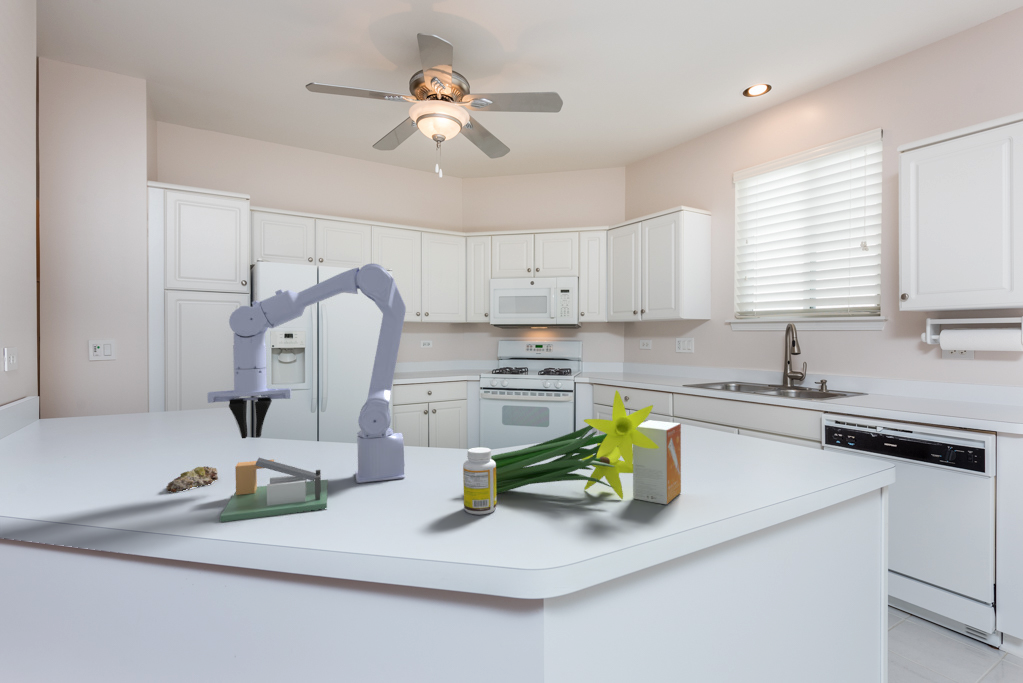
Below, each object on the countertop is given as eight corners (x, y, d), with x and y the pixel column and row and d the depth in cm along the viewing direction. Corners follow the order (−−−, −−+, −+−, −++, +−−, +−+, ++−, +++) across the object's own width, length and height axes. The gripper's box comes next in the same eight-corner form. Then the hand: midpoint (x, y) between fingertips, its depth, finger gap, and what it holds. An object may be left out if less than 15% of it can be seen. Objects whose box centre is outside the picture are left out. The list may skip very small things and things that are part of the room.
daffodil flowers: (492, 479, 104) (658, 438, 98) (490, 540, 92) (680, 498, 86) (462, 421, 96) (641, 373, 90) (454, 479, 83) (662, 428, 77)
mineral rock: (192, 466, 106) (224, 457, 105) (198, 486, 106) (230, 477, 105) (148, 483, 96) (182, 473, 94) (154, 505, 96) (189, 495, 94)
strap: (319, 478, 91) (321, 474, 91) (318, 483, 88) (320, 478, 88) (257, 461, 87) (259, 457, 88) (254, 465, 84) (256, 461, 85)
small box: (667, 505, 85) (666, 429, 85) (632, 498, 89) (631, 426, 88) (682, 493, 92) (681, 422, 91) (648, 487, 95) (648, 419, 95)
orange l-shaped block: (274, 486, 95) (273, 459, 95) (272, 491, 92) (272, 463, 92) (239, 490, 93) (238, 462, 93) (236, 495, 90) (235, 466, 90)
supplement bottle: (482, 502, 88) (481, 444, 88) (503, 509, 84) (502, 449, 84) (457, 510, 84) (456, 449, 84) (477, 518, 80) (477, 455, 80)
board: (327, 484, 99) (327, 459, 99) (326, 509, 85) (326, 480, 85) (237, 494, 94) (237, 467, 94) (220, 522, 80) (219, 491, 80)
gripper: (291, 365, 104) (293, 430, 104) (212, 368, 99) (214, 435, 100) (289, 367, 98) (290, 436, 98) (204, 370, 93) (205, 443, 93)
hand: (251, 436), depth 98 cm, fingers closed
